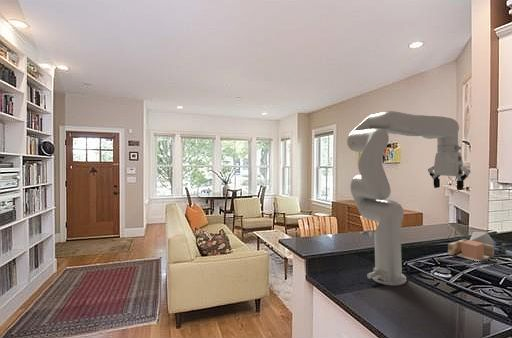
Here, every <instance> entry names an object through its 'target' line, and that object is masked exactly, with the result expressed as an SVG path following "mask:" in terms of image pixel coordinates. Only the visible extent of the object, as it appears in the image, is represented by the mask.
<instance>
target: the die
mask: <svg viewBox="0 0 512 338" xmlns="http://www.w3.org/2000/svg"><path fill="white" fill-rule="evenodd" d="M469 240H472V241H476V242H480V243H484V244H488V245H492V246H494V242H495V241H494V239H493V238H492V237H491V235H490V234H489V233H488V232H483V231H473V233H472V235H471V236H470V238H469Z"/></svg>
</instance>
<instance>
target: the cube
mask: <svg viewBox="0 0 512 338" xmlns="http://www.w3.org/2000/svg"><path fill="white" fill-rule="evenodd" d="M467 240H468V241H464V242H462V252H461V253H462V255H463V256H467V257H470V258H474V259H479V258H481V257H484V243H480V242H476V241H472V240H470V239H467Z"/></svg>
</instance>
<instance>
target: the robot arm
mask: <svg viewBox="0 0 512 338" xmlns="http://www.w3.org/2000/svg"><path fill="white" fill-rule="evenodd" d="M459 131H460V125H459V122H458V121H457V120H456V119H453V118H451V117H446V116H441V115H440V116H438V115H437V116H436V115H424V114H423V115H422V114H421V115H420V114H412V113H411V114H410V113H406V112H400V111H395V110H387V111H381V112H376V113H372V114H370V115H369V116H367V117H366V118H364V120H363V121H362V122H360V123H359V124H358V125H357V126H356V127H355V128H353V130H351V132H350V133H349V134H348V136H347V139H346V142H347V143H346V144H347V147H348V148H349V149H350V150H351V151H353V152H359V153H360V152H361V154H360V156H359V159H358V162H357V169H358V173H359V174H357V175H355V176H354V177H353V178H351V181H350V192H351V195H352V199H353V200H354V203H355V205H356V207H357V210H358V212H359V214H360V216H362V218H364V219H366V220H370V221H372V222H376V223H378V224H377V226H376V228H375V230H374V236H373V237H374V266H375V267H373V270H372V272H371V271H370V272H369V273H367V274H366V276H367V279H372V280H373V281H374V282H376V283H379V284H382V285H385V286H392V287H394V286H395V287H396V286H402V285H404V284H406V282H407V276H406V275H405V274H404V273H402V272H403V268H402V224H403V220H404V208H403V206H402V205H401V204H400V203H398V201H395V200H393V199H388V198H389V197H390V196H391V193H392V192H391V191H392V190H391V186H390V183H389V179H388V177H387V175H386V172H385V170H384V169H385V168H384V166H383V162H382V160H383V156H384V153H385V150H386V148H387V146H388V144H389V136H390V135H389V134H392V135H400V136H404V137H405V136H406V137H422V138H423V139H428V140H432V139H434V140H436V141H437V147H436V148H437V152H436V153H435V155H434V156H435V157H434V164H433V166H431V167H429V168H427V171H428V174H429V175H430V176H431V178H432V180H433V188H434V189H437V188H440V187H441V182H440V181H441V179H440V176H445V177H446V176H447V177H455V178H456V179H457V180H456V190H457V191H462V190H463V189H464V187H465V185H464V184H465V183H464V181H465V180H466V179H467V178H468V177H469V175H470V174H471V170H470V169H469V168H466V167H465V166H464V162H463V161H464V160H463V157H462V154H461V152H459V150H460V151H461V150H462V147H461V146H460V145H459Z"/></svg>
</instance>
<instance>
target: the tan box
mask: <svg viewBox="0 0 512 338" xmlns="http://www.w3.org/2000/svg"><path fill="white" fill-rule="evenodd" d="M468 240H469V239H466V238H463V239H460V240H456V241H453V242H449V243H447V255H449V256H454V255H456V257H460V258H463V259H467V260H470V261H473V260H474V262H477V261H478V262H477V263H479V261H480V262H482V261H486V260H488V259H490V258H495V245H488V244H484V257H481V258H479V259H474V258H470V257H467V256H463V255H462V242H464V241H468Z"/></svg>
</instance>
